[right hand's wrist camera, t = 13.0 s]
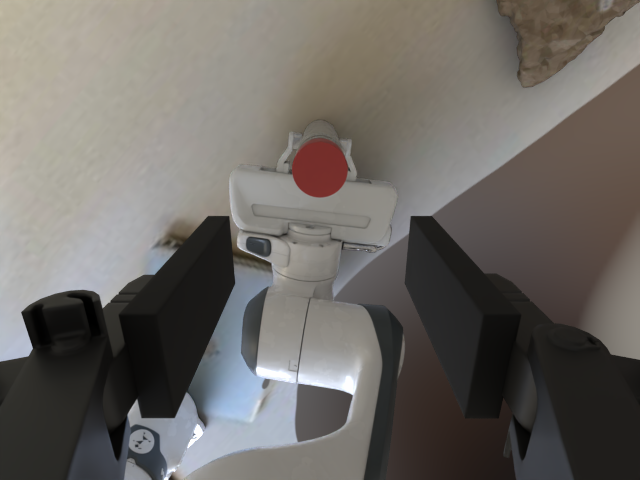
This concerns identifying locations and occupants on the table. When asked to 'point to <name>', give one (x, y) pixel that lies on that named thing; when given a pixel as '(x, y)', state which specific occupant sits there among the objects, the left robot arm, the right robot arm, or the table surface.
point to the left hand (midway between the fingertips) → (320, 135)
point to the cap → (319, 168)
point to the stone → (556, 31)
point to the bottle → (320, 133)
